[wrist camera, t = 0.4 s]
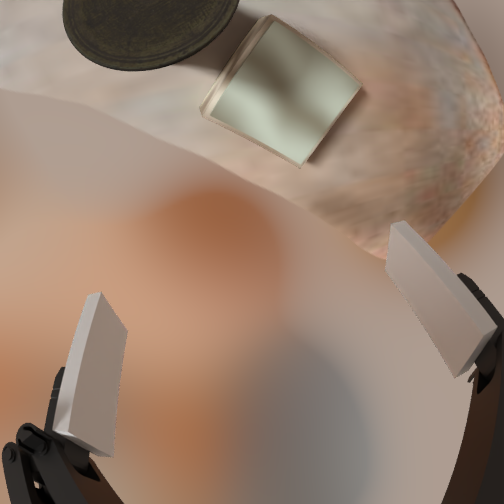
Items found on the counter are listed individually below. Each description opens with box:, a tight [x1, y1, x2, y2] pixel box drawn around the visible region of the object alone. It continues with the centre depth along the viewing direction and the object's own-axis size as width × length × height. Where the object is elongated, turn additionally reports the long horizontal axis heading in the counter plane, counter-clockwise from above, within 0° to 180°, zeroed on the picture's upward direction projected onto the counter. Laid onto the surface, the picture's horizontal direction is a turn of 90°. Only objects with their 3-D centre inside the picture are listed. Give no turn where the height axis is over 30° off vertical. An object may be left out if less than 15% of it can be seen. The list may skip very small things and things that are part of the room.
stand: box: [199, 14, 363, 169], centre depth 26 cm, size 12×12×5 cm
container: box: [63, 0, 239, 71], centre depth 14 cm, size 9×9×18 cm
